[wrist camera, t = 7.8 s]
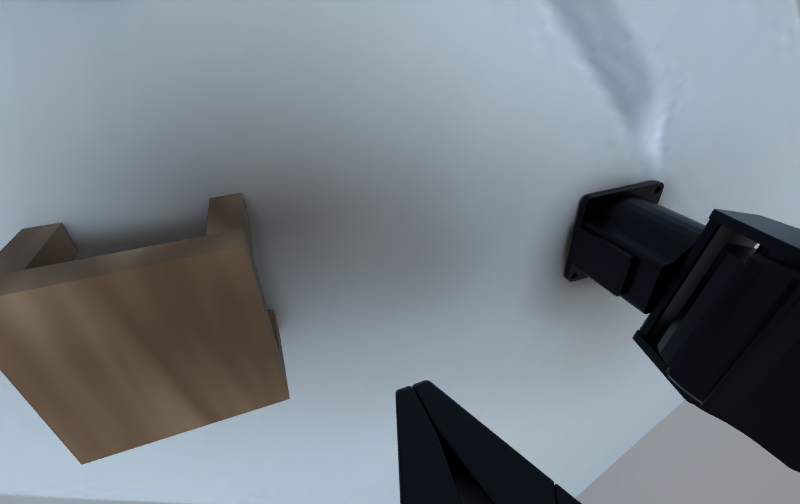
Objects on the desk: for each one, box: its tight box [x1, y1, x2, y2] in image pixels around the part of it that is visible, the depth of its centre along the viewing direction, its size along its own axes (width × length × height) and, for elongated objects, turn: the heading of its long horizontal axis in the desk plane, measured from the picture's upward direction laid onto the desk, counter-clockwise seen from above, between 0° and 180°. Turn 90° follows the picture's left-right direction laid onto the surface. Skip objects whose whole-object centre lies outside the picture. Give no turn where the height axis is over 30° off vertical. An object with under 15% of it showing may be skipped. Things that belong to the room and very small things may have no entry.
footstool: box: [0, 193, 290, 464], centre depth 16 cm, size 5×8×8 cm
